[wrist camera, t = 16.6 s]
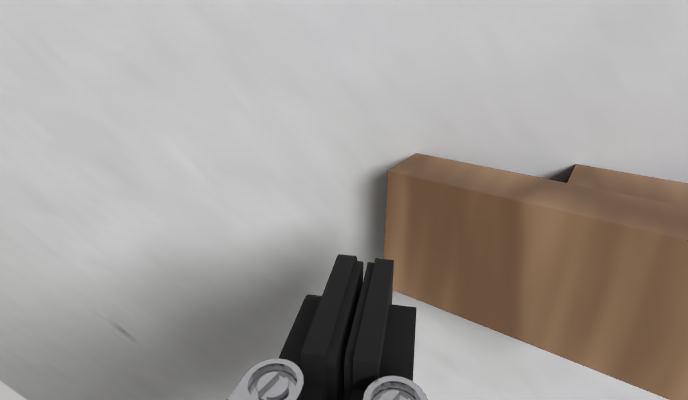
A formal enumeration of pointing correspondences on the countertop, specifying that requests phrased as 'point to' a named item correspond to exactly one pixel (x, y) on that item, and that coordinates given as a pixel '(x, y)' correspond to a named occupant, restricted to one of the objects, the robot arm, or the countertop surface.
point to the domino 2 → (630, 184)
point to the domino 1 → (547, 265)
